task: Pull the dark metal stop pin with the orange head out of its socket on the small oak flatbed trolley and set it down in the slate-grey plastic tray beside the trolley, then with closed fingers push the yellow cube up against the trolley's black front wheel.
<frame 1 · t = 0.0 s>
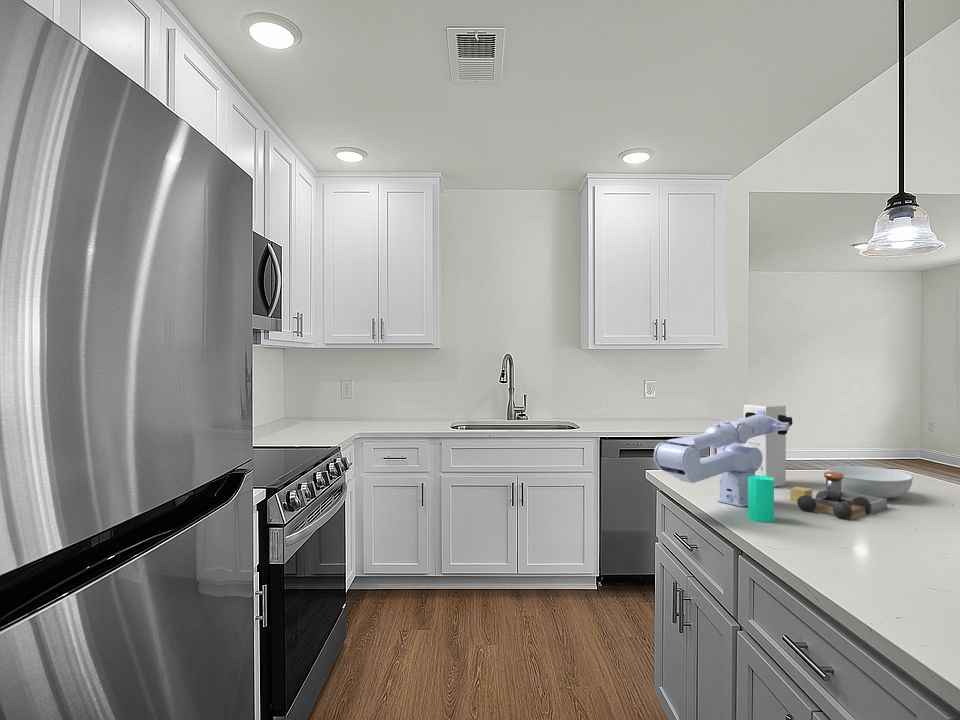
hand: (778, 419, 179), 22 cm above the worktop, tool horizontal, fingers open, 7 cm apart
trolley: (833, 511, 158), on the worktop
serving bowl: (868, 496, 176), on the worktop
tall white carton: (764, 484, 192), on the worktop
tray: (854, 506, 164), on the worktop
yellow cube: (801, 501, 170), on the worktop
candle: (760, 519, 151), on the worktop
stop pin: (833, 504, 158), point 2 cm above the worktop, touching trolley
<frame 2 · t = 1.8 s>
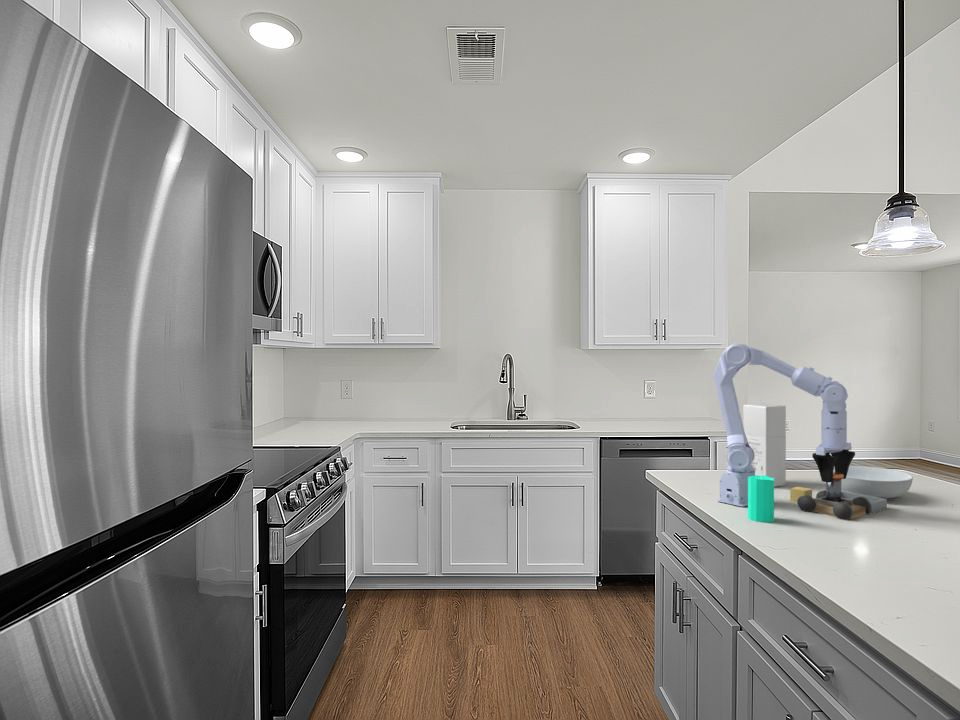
hand: (833, 480, 158), 8 cm above the worktop, tool pointing down, fingers open, 7 cm apart
nothing on the worktop moved.
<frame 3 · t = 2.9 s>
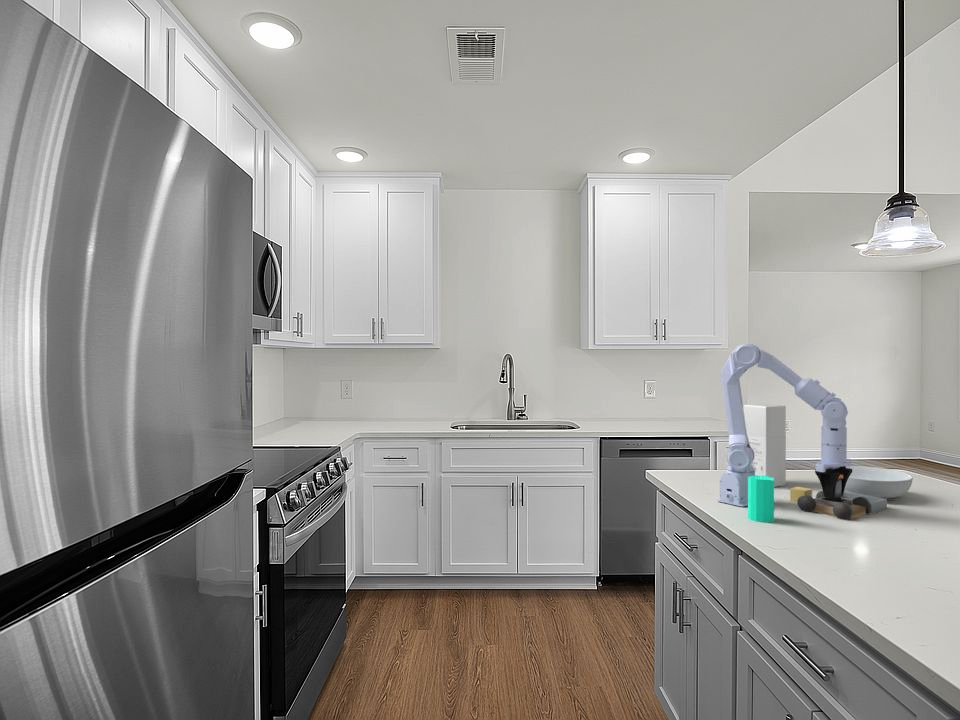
hand: (833, 496, 158), 4 cm above the worktop, tool pointing down, fingers closed on stop pin, 4 cm apart
stop pin: (833, 504, 158), point 2 cm above the worktop, touching gripper, trolley
everything else where it was.
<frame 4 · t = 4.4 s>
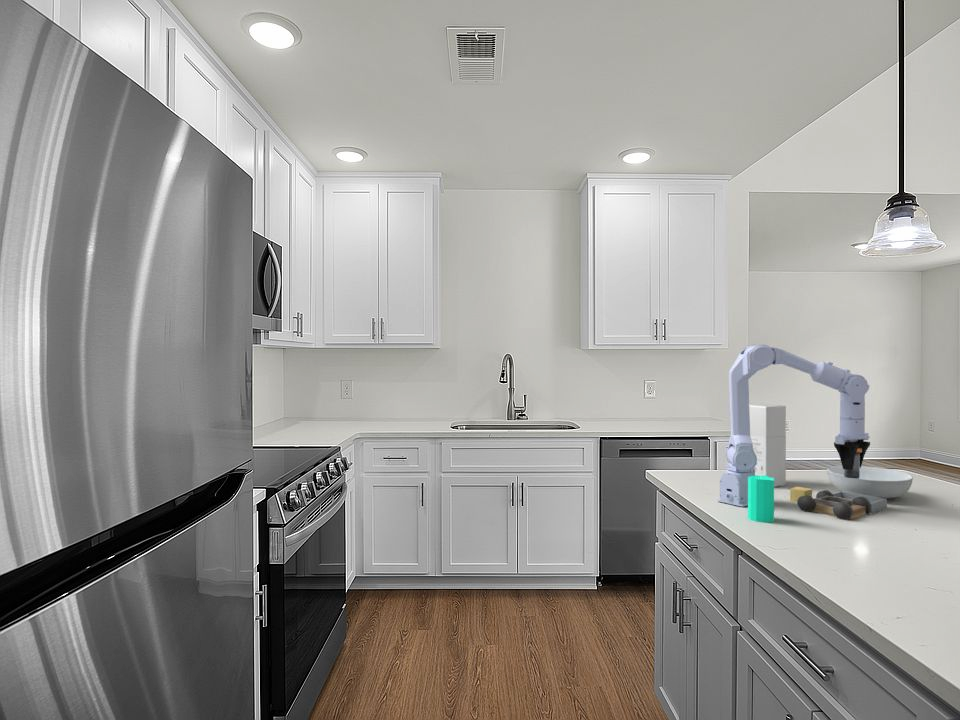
hand: (851, 468, 164), 10 cm above the worktop, tool pointing down, fingers closed on stop pin, 4 cm apart
stop pin: (851, 477, 163), point 8 cm above the worktop, touching gripper
everything else where it was.
when the fingers open (4 cm above the worktop, at t = 5.9 s): stop pin drops 1 cm, resting on tray.
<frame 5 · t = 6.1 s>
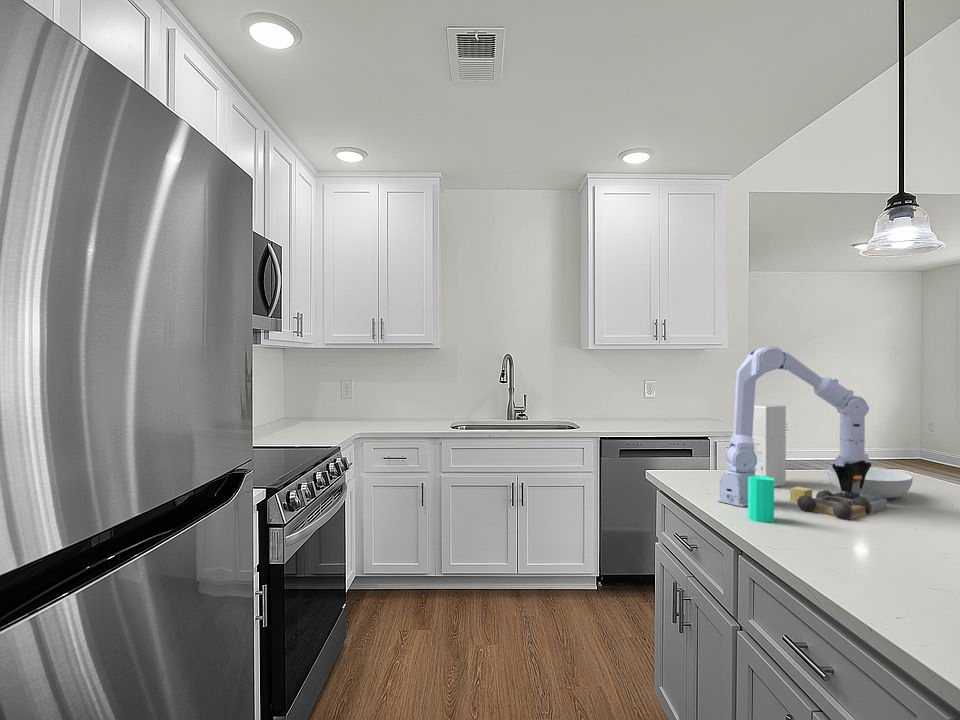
hand: (851, 489, 164), 4 cm above the worktop, tool pointing down, fingers open, 6 cm apart
stop pin: (851, 504, 163), point 1 cm above the worktop, touching tray
everything else where it was.
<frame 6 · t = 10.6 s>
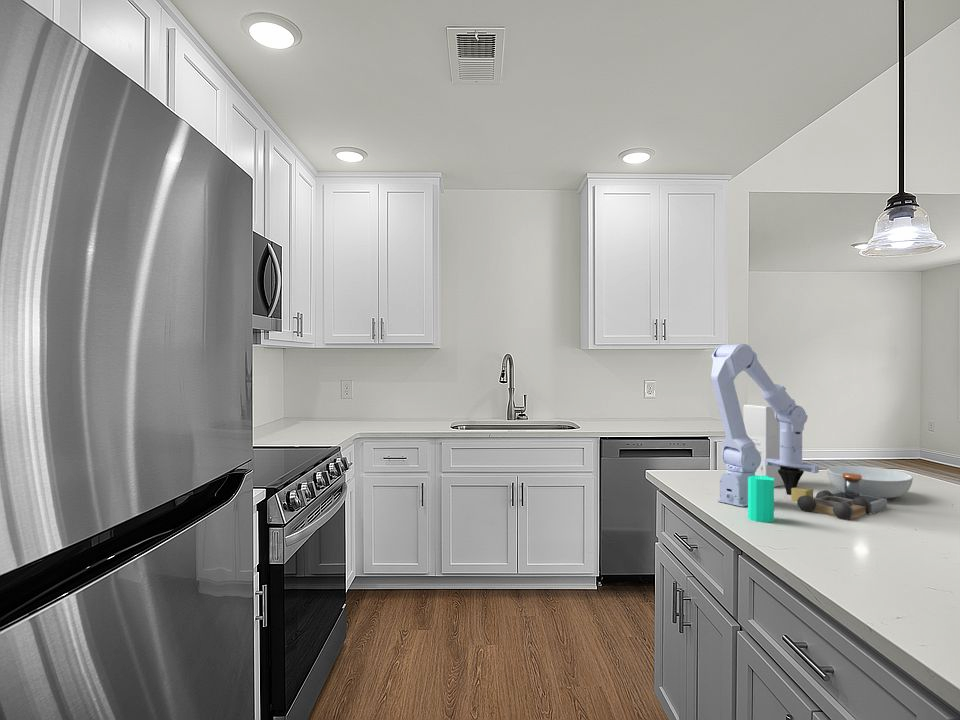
hand: (790, 494, 172), 1 cm above the worktop, tool pointing down, fingers closed
yellow cube: (802, 501, 170), on the worktop, touching gripper
everything else where it was.
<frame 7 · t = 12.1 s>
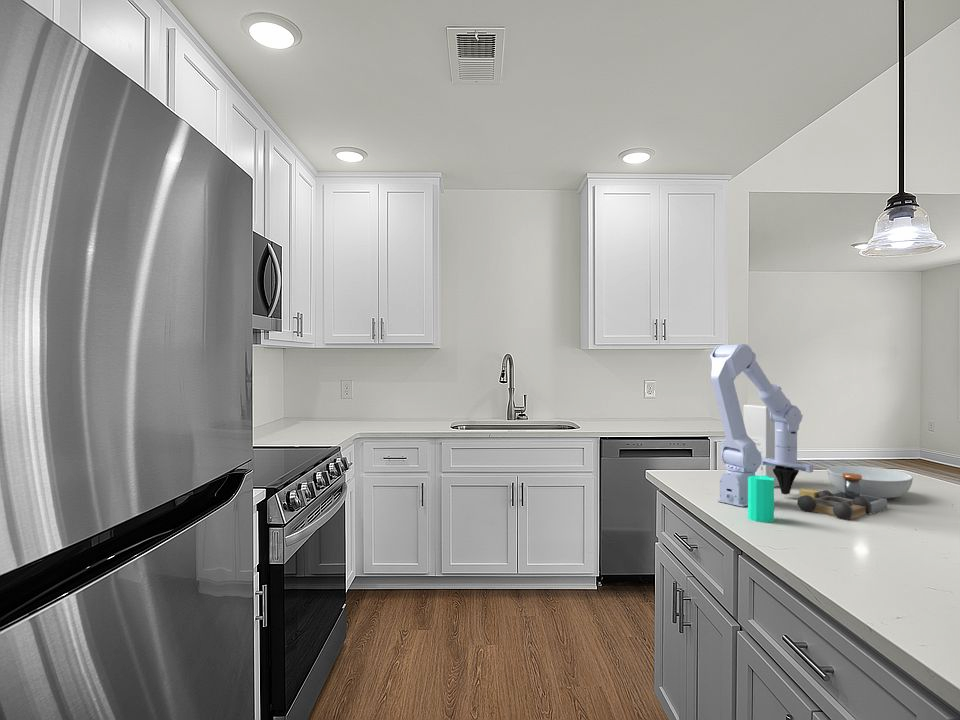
hand: (785, 493, 174), 1 cm above the worktop, tool pointing down, fingers closed
yellow cube: (810, 503, 168), on the worktop
everything else where it was.
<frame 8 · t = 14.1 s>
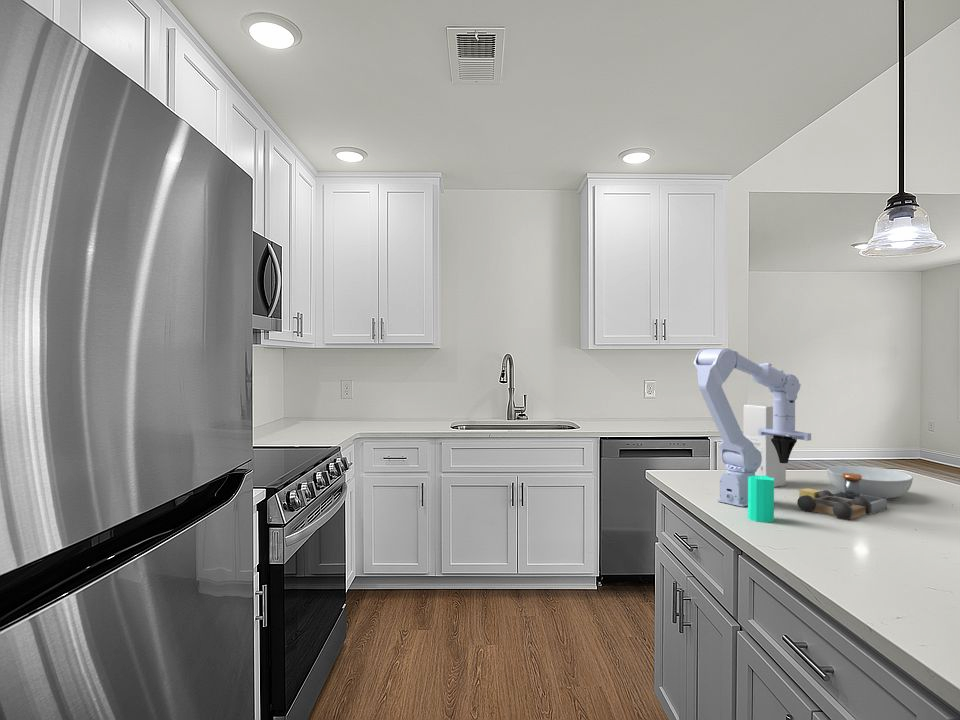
hand: (783, 462, 174), 10 cm above the worktop, tool pointing down, fingers closed
nothing on the worktop moved.
at the end: stop pin inside the target area on the tray (0.8 cm from its centre), point 0.6 cm above the tray's base; the gripper is holding nothing; yellow cube 0.7 cm from the target spot, on the worktop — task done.
